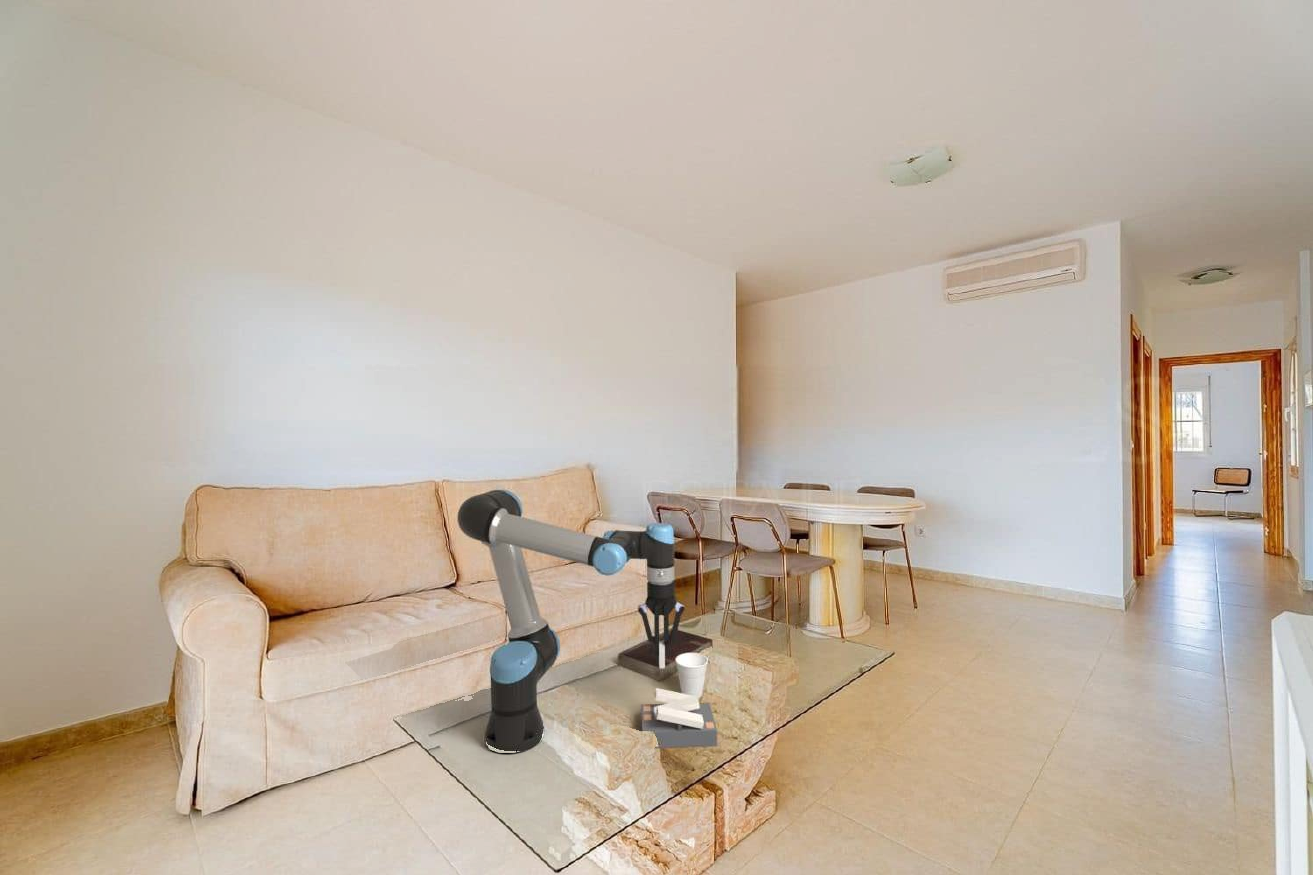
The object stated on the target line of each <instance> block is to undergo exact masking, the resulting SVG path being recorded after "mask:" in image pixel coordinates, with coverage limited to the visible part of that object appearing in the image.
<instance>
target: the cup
mask: <svg viewBox="0 0 1313 875" xmlns="http://www.w3.org/2000/svg"><path fill="white" fill-rule="evenodd" d="M675 661H676V663H677V669H678V672H677V673H678V678H679V686H680V693H682V694H687V695H691V696H696V695H697V697H698V700H699V699H701V697H702V696H703V691H704V685H705V679H706V673H707V667H708V663H709V658H708V657H707V656H704V655H702V654H698V653H684V654H681V655H679V656H677V657H676V659H675Z"/></svg>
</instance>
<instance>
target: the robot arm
mask: <svg viewBox="0 0 1313 875" xmlns="http://www.w3.org/2000/svg"><path fill="white" fill-rule="evenodd" d="M522 515H523V505H522V502H521V501H520V499H519V497H518V496H517V495H516V494H515V493H514V492H512V491H511V490H508V489H507V490H506V489H494V490H489V491H486V492H484V493H480V494H476V495H473V496H470V497H468V498H467V499H465V501H464V502H462V504H461V505H460V507H459V509H458V512H457V515H456V516H457V524H458V527H459V528H460V530H461V531H462V533H463V534H465V535H466V536H467V537H468V538H470V539H472V540H475V541H480V542H481V544H482V545H484V546H486V547H488V549H489V553H490V558H491V561H492V564H493V567H494V571H495V575H496V577H497V582H498V585H499V588H500V593H501V596H502V600H503V604H504V608H505V611H506V614H507V618H508V622H509V625H510V629H509V631H508V632H507V639H508V643H507V644H506V643H505V644H502V645H500V646H499V647H497V648H496V649H495V650H494V652H493V653H492V655H491V657H490V666H489V673H490V702H491V703H490V704H491V706H490V707H491V709H490V710H491V711H490V715H489V718H488V722H487V724H486V727H485V731H484V741H485V740H486V742H487V744H488V745H490V746H492V747H494V748H496V749H499V750H504V751H516V752H517V751H523V752H525V751H524V750H526V751H529V750H530V749H533V748H535V747H536V746H537V745H538V744H540V743H541V741H542V740H541V738H542V734H543V729H544V730H545V725H544V726H543V723H544V721H543V718H542V715H541V712H540V710H539V707H538V699H537V698H538V696H537V695H538V691H537V690H538V687H537V686H538V684H539V682H540V680H542V678H543V677H544V675H545V674H546V673H547V672H548V671H549V670H550V669H551V668H552V667H553V666H554V665H555V662H556V661H557V659H558V656H559V655H560V651H561V643H560V642H561V641H560V638H559V636H558V634H557V632H556V631H555V630H554V629H552V628H551V627H550V626H549V622H548V620H546V619H545V618H543V617H541V614H540V611H539V606H538V603H537V600H536V596H535V593H534V589H533V586H532V585H533V584H532V582H531V581H532V580H531V579H530V575H529V571H528V567H527V563H526V559H525V557H524V553H523V549H525V550H529V551H533V552H536V553H540V554H543V555H546V556H547V555H548V556H552V557H554V558H555V557H556V558H559V559H563V560H567V561H570V562H574V563H578V564H582V565H585V566H589V567H592V568H594V569H595V570H596V572H598V573H599V574H601V575H602V576H603V575H604V576H608V577H609V576H612V575H615V574H617V573H618V572H620V571H621V570H622V569H624V567H625V565H626V564H627V563H629V561H630V560H646V580H647V582H646V588H647V589H646V599H645V602H644V603H643V604H640V605H638V606H637V611H638V613H639V615H640V617H641V619H642V621H643V622H642V623H643V625H644V631H645V633H646V637H647V640H648V641H649V642H653V643H654V644H655V655H659V668H665V655H668V654H669V643H670V642H672V641H675V639H676V635H677V630H679V625H680V620H681V617H682V615H683V613H684V612H685V605H684V604H683V603H679V602H678V600H677V599H676V591H675V584H676V583H675V581H674V580H675V579H676V578H675V538H674V527H673V526H672V525H671V524H670V523H665V522H654V523H648V525H646V528H645V530H643V531H642V530H641V531H639V530H619V529H615V530H607V531H605V532H604V533H603V536H602V537H600V536H597V535H593V534H589V533H585V532H582V531H578V530H574V529H569V528H565V527H562V526H558V525H554V524H550V523H545V522H542V521H539V520H534V519H530V518H526V517H522ZM674 608H675V613H674V619H673V623H672V627H671V629H672V631H671V635H670V636H669V627H670V626H669V622H670V620H669V618H670V617H669V616H670V613H671V612H672V611H673V610H674ZM648 609H649V611H650V612H651V614H652V615H653V620H654V621H653V624H654V626H653V627H654V629H653V632H654V633H653V634H654V635H653V634H652V630H651V625H650V622H649V618H648V614H647V611H648ZM660 616H663V632H664V641H659V634H660ZM540 740H541V741H540ZM528 749H529V750H528Z"/></svg>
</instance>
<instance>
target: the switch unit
mask: <svg viewBox="0 0 1313 875" xmlns="http://www.w3.org/2000/svg"><path fill="white" fill-rule="evenodd" d="M663 704H664V703H653V704H652V703H651V704H650V703H649V704H641V705H640V706H641V707H640V708H641V714H640V715H641V731H642V730H643V731H651V732H653V733H654V734H655V736H656V738H657V741H658V745H659V748H658V749H665V748H692V747H693V748H694V747H698V748H700V747H716V746H718V730H717V726H716V722H715V718H714V715H713V711H712V708H711V704H710V702H699V706H700V708H699V709H695V710H691V711H688V712H691V713H695V714H700V715H702V717H703V721H704V725H703V729H701V728H696V727H691V726H687V725H682V724H677V723H672V722H668V721H663V720H656V718H655V714H654V707H656V706H660V705H663Z"/></svg>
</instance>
